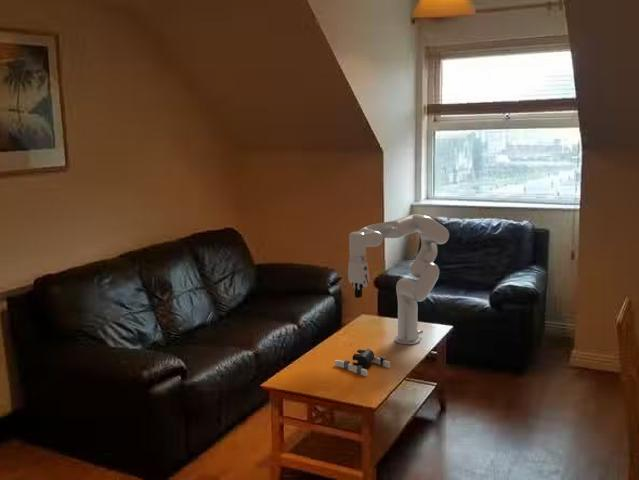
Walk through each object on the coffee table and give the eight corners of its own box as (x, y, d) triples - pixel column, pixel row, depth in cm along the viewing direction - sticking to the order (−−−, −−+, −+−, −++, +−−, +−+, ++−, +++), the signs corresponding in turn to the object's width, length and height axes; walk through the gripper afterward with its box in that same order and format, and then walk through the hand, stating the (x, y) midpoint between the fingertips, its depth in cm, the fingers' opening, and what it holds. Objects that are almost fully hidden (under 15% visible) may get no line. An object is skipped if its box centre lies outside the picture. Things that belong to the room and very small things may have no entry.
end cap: (367, 371, 293) (367, 356, 292) (352, 369, 295) (352, 354, 294) (374, 363, 302) (374, 349, 301) (359, 361, 304) (359, 347, 303)
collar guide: (362, 355, 311) (362, 348, 311) (392, 366, 298) (392, 358, 297) (333, 365, 300) (333, 358, 299) (363, 377, 286) (363, 369, 285)
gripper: (375, 259, 306) (375, 298, 309) (352, 255, 317) (352, 292, 320) (363, 262, 301) (364, 301, 304) (340, 257, 312) (341, 295, 315)
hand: (358, 296), depth 312 cm, fingers closed
